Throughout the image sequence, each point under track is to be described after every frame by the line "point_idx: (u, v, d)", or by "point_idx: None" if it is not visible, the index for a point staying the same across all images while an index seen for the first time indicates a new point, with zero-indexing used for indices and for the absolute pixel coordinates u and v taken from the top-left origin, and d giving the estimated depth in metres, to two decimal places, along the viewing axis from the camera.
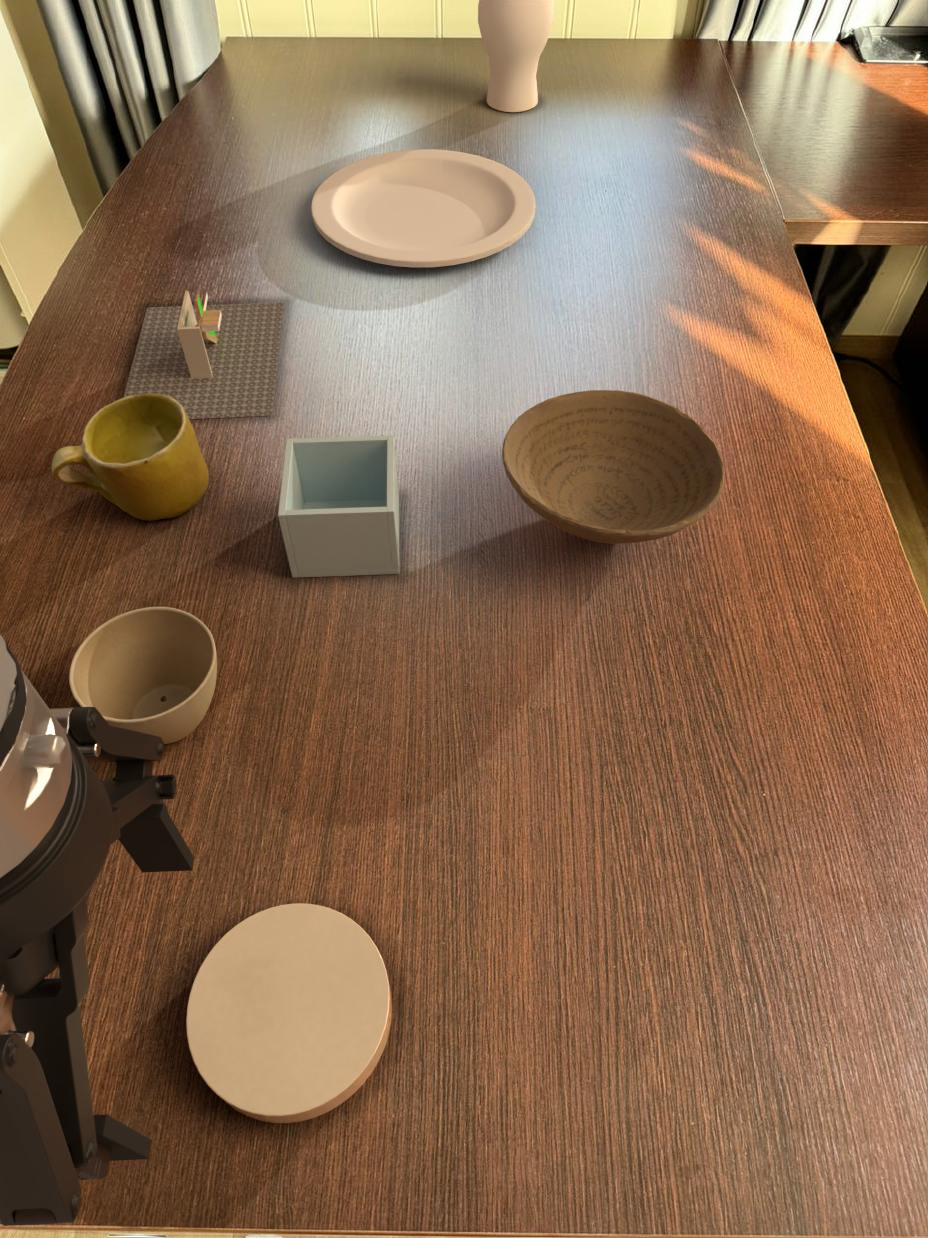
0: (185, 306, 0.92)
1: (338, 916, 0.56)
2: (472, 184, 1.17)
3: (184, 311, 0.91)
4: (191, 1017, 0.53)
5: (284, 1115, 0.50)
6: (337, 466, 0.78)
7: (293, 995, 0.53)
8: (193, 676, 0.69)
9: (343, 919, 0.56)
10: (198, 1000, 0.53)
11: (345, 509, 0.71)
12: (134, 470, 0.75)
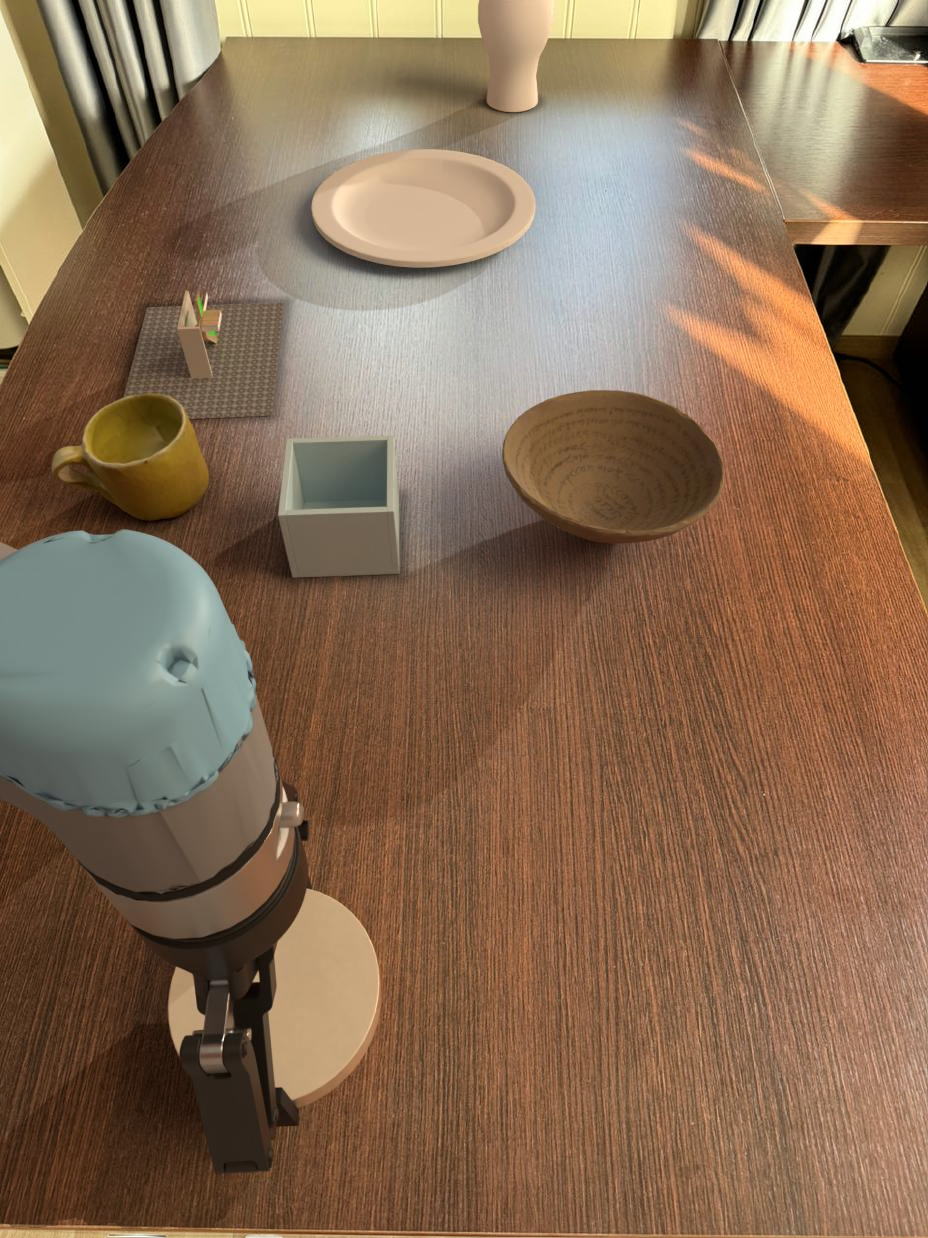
0: (185, 306, 0.92)
1: (327, 899, 0.54)
2: (472, 184, 1.17)
3: (184, 311, 0.91)
4: (173, 1002, 0.51)
5: None
6: (337, 466, 0.78)
7: (280, 981, 0.52)
8: None
9: (332, 903, 0.54)
10: (180, 985, 0.51)
11: (345, 509, 0.71)
12: (134, 470, 0.75)
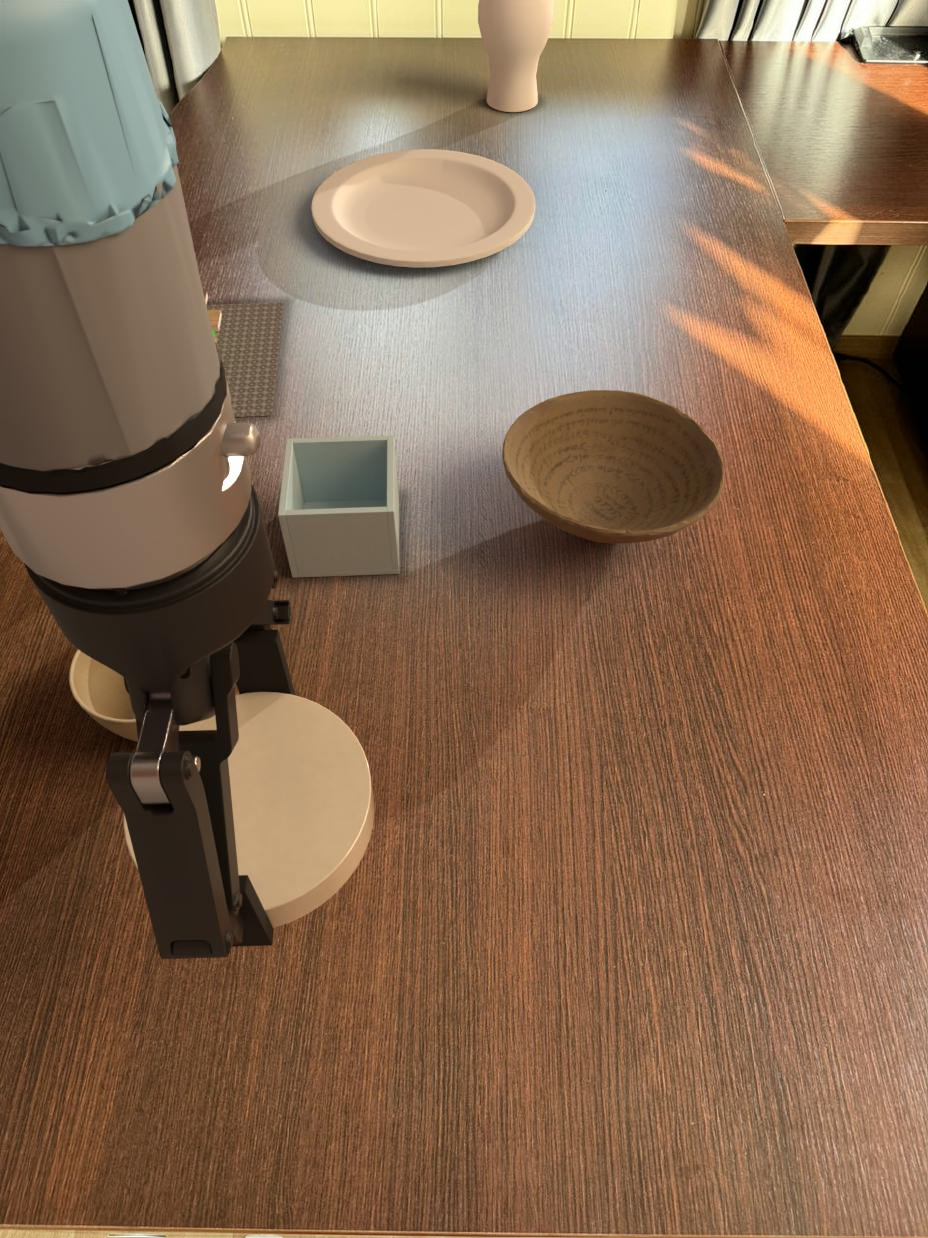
0: None
1: (312, 705, 0.47)
2: (472, 184, 1.17)
3: None
4: None
5: None
6: (337, 466, 0.78)
7: (255, 786, 0.44)
8: None
9: (318, 709, 0.47)
10: None
11: (345, 509, 0.71)
12: None
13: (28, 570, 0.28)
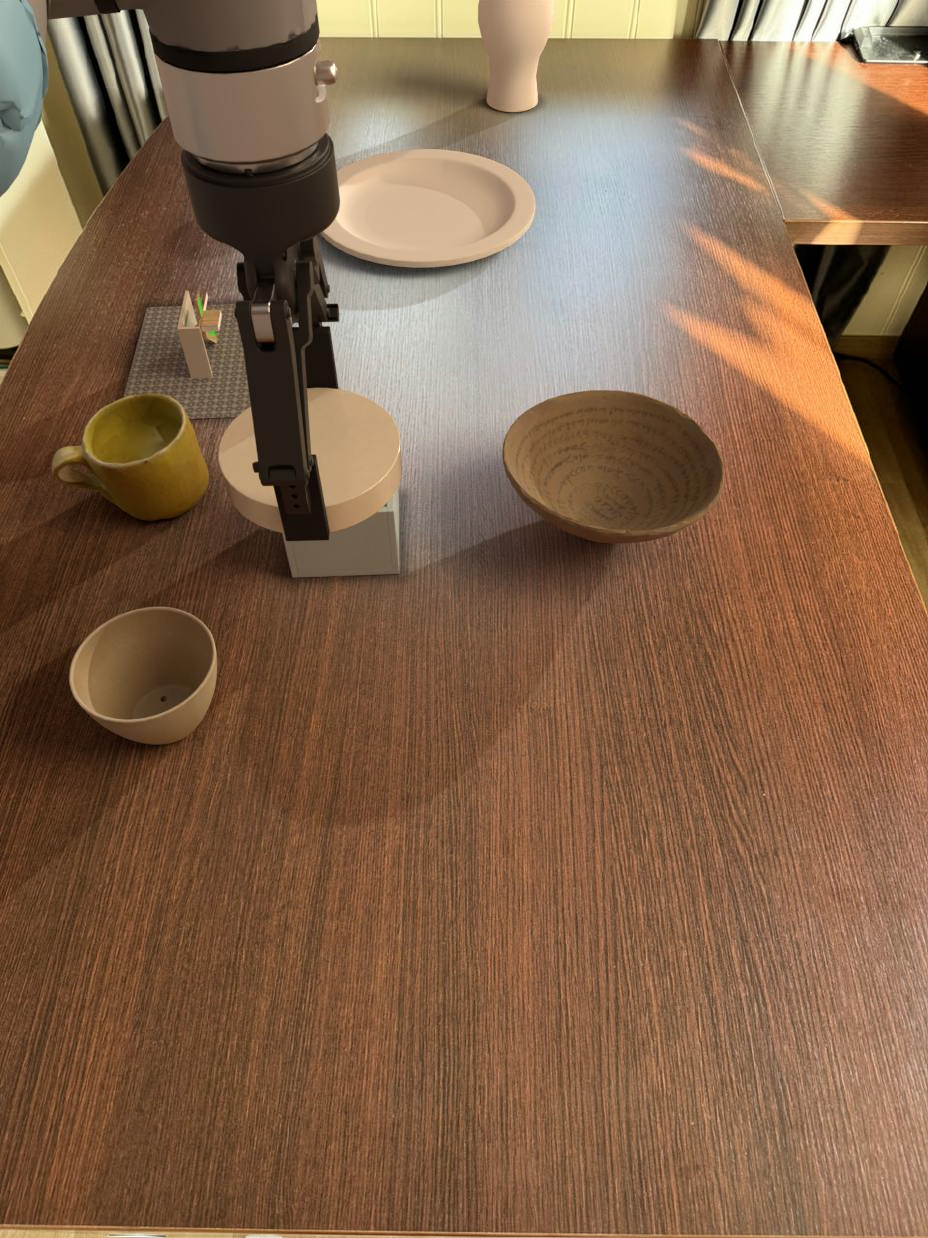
0: (185, 306, 0.92)
1: (355, 395, 0.62)
2: (472, 184, 1.17)
3: (184, 311, 0.91)
4: (222, 451, 0.59)
5: None
6: None
7: (314, 440, 0.59)
8: (193, 676, 0.69)
9: (359, 397, 0.62)
10: (228, 442, 0.59)
11: None
12: (134, 470, 0.75)
13: (187, 170, 0.43)
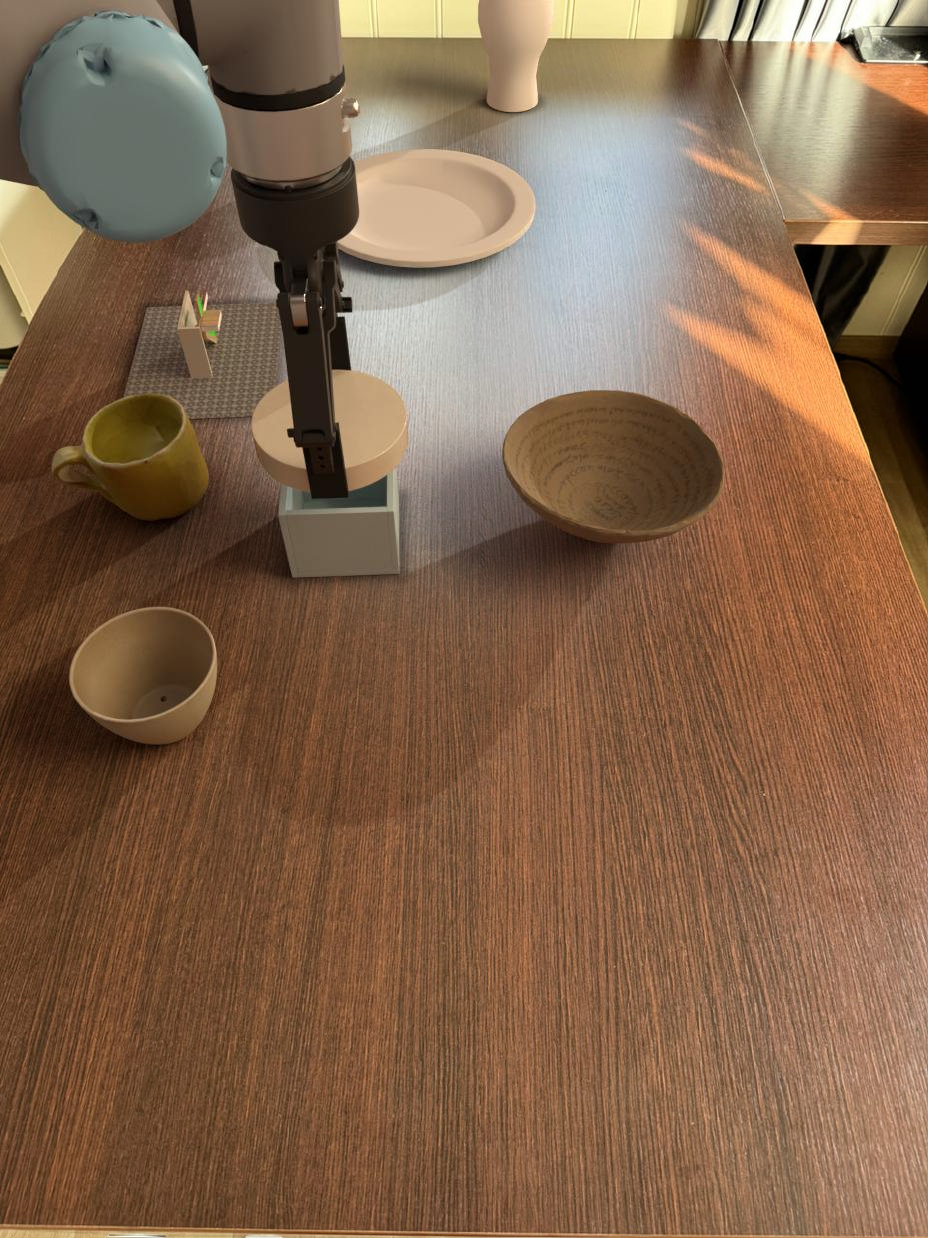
0: (185, 306, 0.92)
1: (366, 375, 0.72)
2: (472, 184, 1.17)
3: (184, 311, 0.91)
4: (255, 423, 0.69)
5: None
6: None
7: None
8: (193, 676, 0.69)
9: (370, 377, 0.72)
10: (260, 415, 0.69)
11: (345, 509, 0.71)
12: (134, 470, 0.75)
13: (237, 187, 0.53)
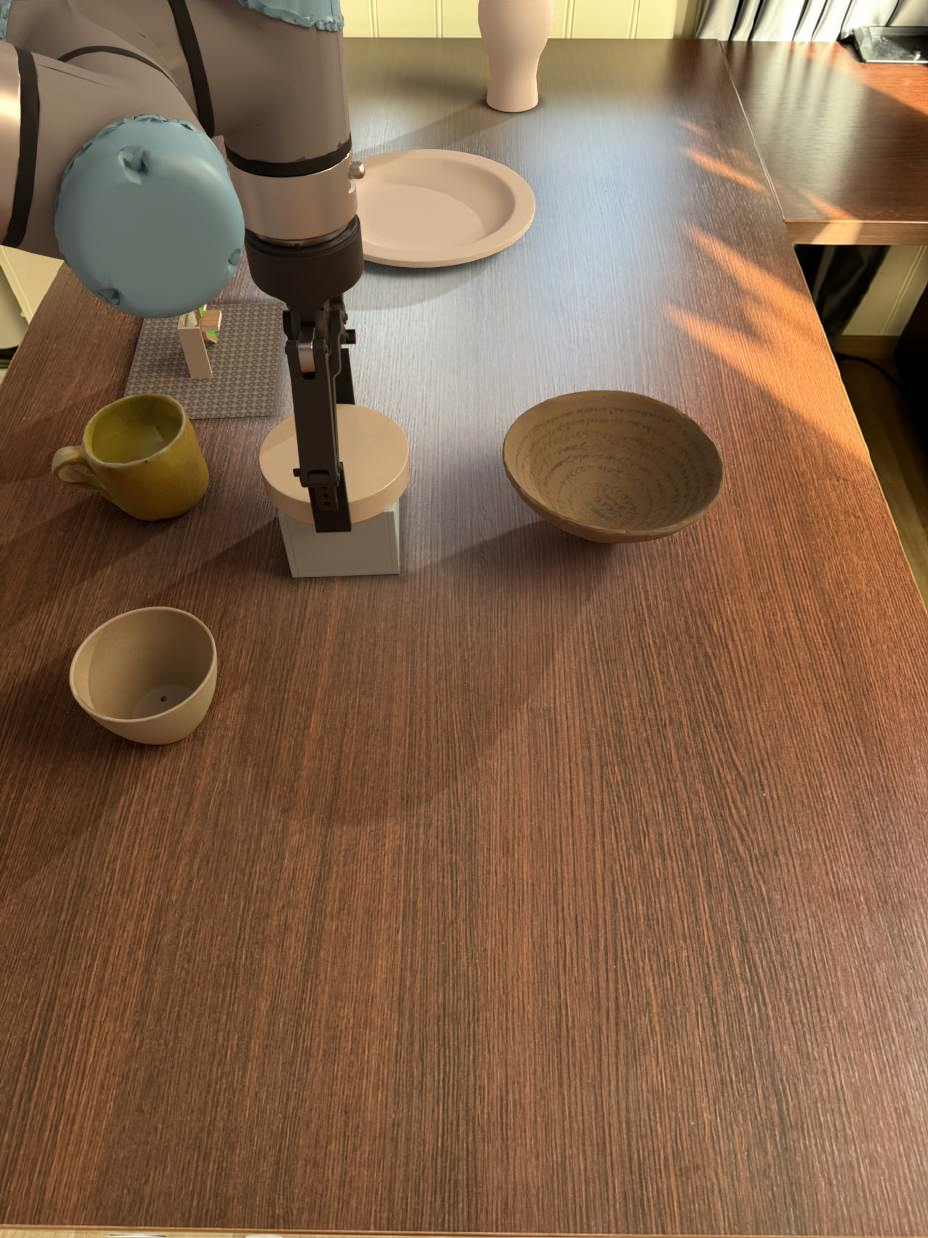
0: None
1: (369, 409, 0.75)
2: (472, 184, 1.17)
3: None
4: (262, 458, 0.71)
5: None
6: None
7: None
8: (193, 676, 0.69)
9: (373, 411, 0.75)
10: (267, 450, 0.72)
11: None
12: (134, 470, 0.75)
13: (248, 243, 0.56)
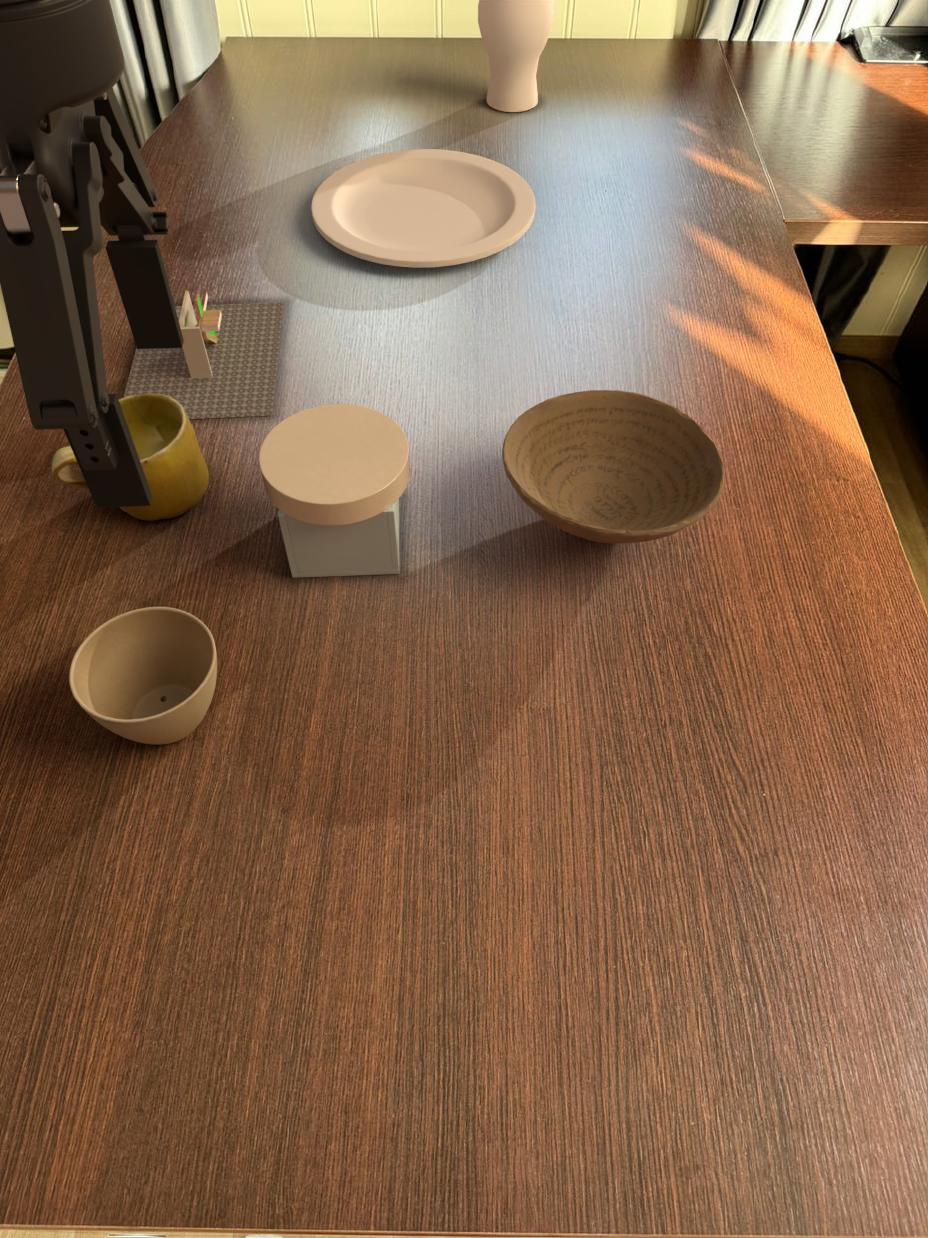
0: (185, 306, 0.92)
1: (369, 409, 0.75)
2: (472, 184, 1.17)
3: (184, 311, 0.91)
4: (262, 458, 0.71)
5: (333, 504, 0.68)
6: None
7: (337, 447, 0.72)
8: (193, 676, 0.69)
9: (373, 411, 0.75)
10: (267, 450, 0.72)
11: None
12: None
13: None
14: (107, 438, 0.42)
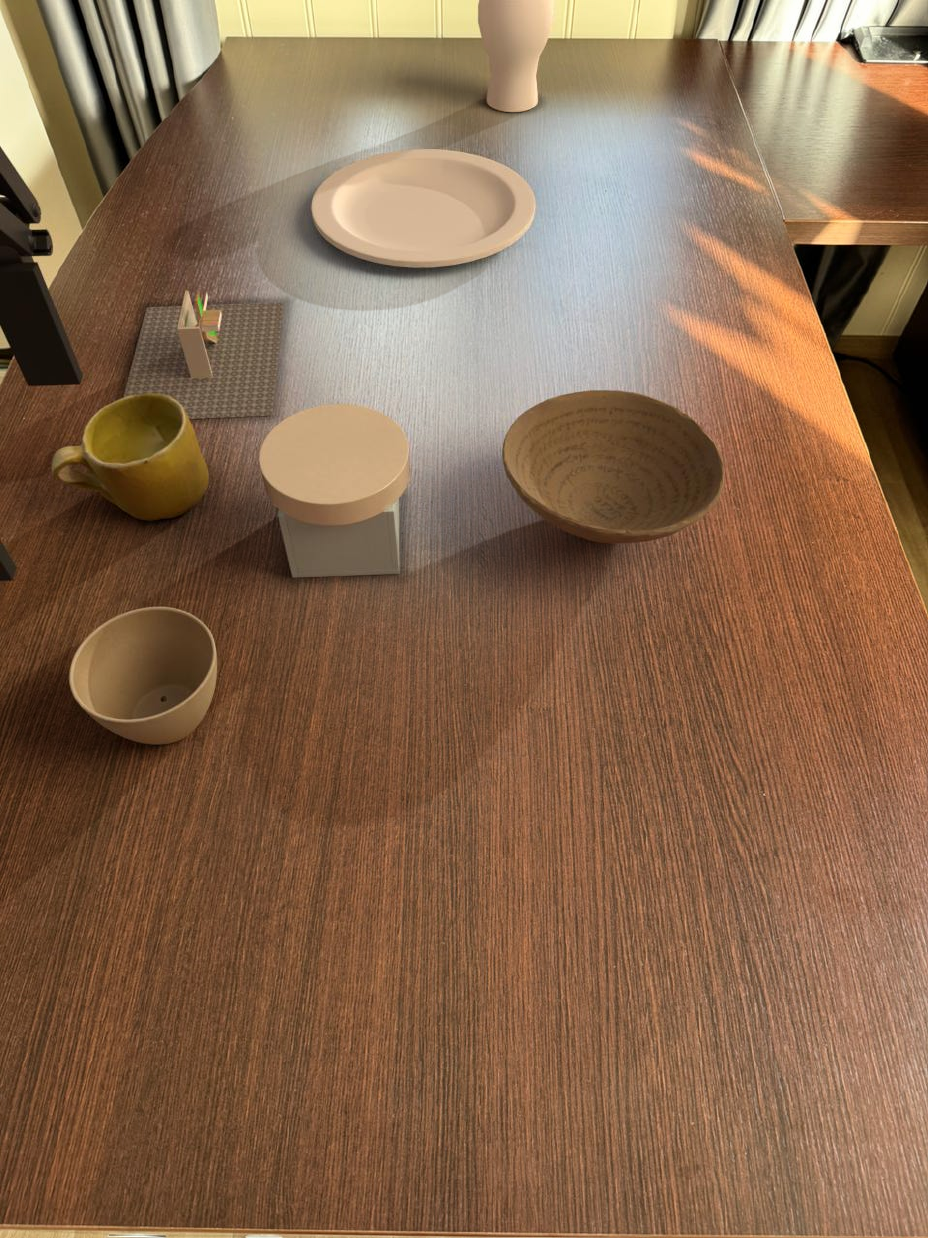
0: (185, 306, 0.92)
1: (369, 409, 0.75)
2: (472, 184, 1.17)
3: (184, 311, 0.91)
4: (262, 458, 0.71)
5: (333, 504, 0.68)
6: None
7: (337, 447, 0.72)
8: (193, 676, 0.69)
9: (373, 411, 0.75)
10: (267, 450, 0.72)
11: None
12: (134, 470, 0.75)
13: None
14: None
